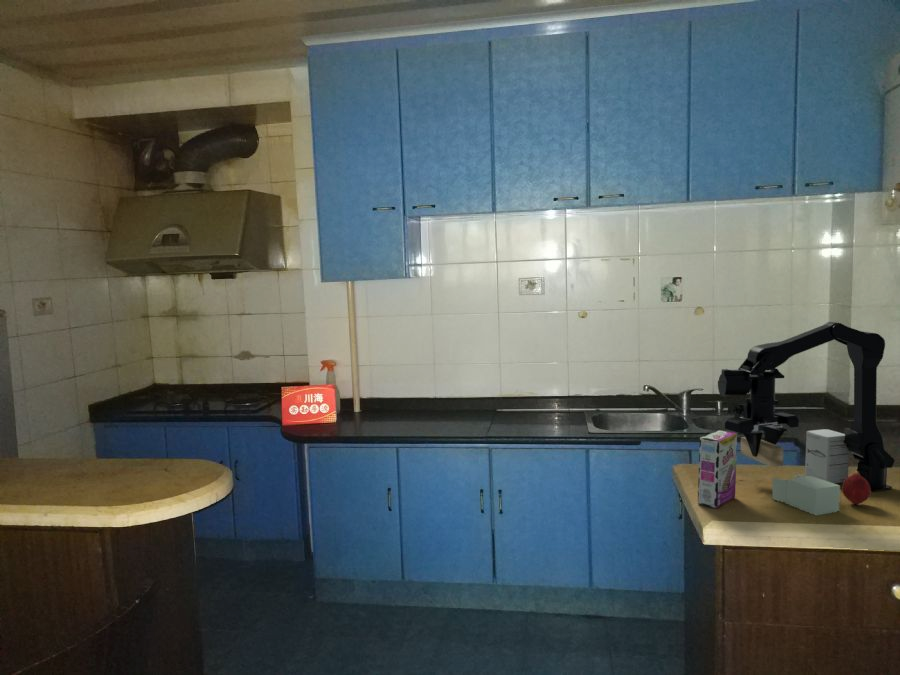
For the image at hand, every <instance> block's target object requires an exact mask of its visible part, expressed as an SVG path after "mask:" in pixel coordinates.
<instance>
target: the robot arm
mask: <svg viewBox="0 0 900 675" xmlns="http://www.w3.org/2000/svg"><path fill="white" fill-rule="evenodd" d="M831 341H836V342H838V343H840V344H843V345H844V346H846V349H847V354H848V357H849V360H850V362H851V363H852V365H853V423H852V425H851V426H850V427H844V429H843V432H844V434H845V440H844V443H845V444H846V446H847V449H848V450H849V453H851V455H852V458H853V459H855V460H857V461H858V462H857V469H856V471H858V472H859V474H860V476H862V477H863V478H865V479H866V480H867V482H868V483H869V485H870V488H871V492H879V491H886V490H892V489H893V486H892V485H888V484H887V480H888V479H887V477H888V469H889V468H890V469H891V468H893V466H894V464H895V462H896V460H895V458H894V457H893V456H891V455H890V454H889V453H888V451H886V450H885V445H884V439H883V438H884V437H883V435H882V433H881V430H880V429H879V427H878V425H877V391H878V390H877V388H878V387H877V386H878V385H877V384H878V382H877V381H878V380H877V378H878V377H877V375H878V373H877V370H878V367H879V365H880V363H881V361H882V360H883V358H884V353H885V349H886V340H885V339H884V337H883V336H882V335H881V334H878V333H877V332H869V331H862V330H859V329H855V328H852V327H850V326H847V325H846V324H843V323H841V322H835V321H828V322H826V323H824V324H822V325H819V326H817V327H815V328H813V329H810V330H808V331H804V332H802V333H799V334H797V335H794V336H792V337H789V338H786V339H785V340H782V341H777V342H767V343H764V344H758V345H754V346H752V347H751V348H750V349H749V351H748V353H747V357H746V358H745V360H744V361H743V362H742V363H741V365H740V366H739V367H738V369H728V368H724V369H723V368H722V369H721V373H720V375H719V377H718V380H717V389H718V390H717V391H718V393H719V395H720V396H721V397H744V396H747V394H749V397H746V398H745V403H744V404H739V403H738V401H733V402H729V403H727V413H728V415H729V416H733V417H727V418H726V419H725V421H724V430H726V431H727V430H728V431H730V432H733V433H737V434H738V433H739V434H743V435H744V436H743V437H746V440H747V442H748V445H749V447H750V450H751V453H752V455H753V456H754V457H757V454H758V451H759V447H760V442H761V440H762V437H763V433H764V441H767V442H769V443H772V444H775V445H777V443H778V442H779V440H780V438H781V437H782V436H783V435H784V433H785V432H787V430H788V429H787V428H784V426H783V424H785V425H787V427H788V428H791V429H793V428H798V427H799V421H800V420H799V418H798V417H797V415H795V414H791V413H787V412H775V411H776V410H775V406H777V405H779V404H780V403H779V402H780V401H779V399H776V379H785V375H784V374H782V372H780V370H779V369H778V367H779V366H781V365H783V364H785V363H786V362H787V361H788V360H789V359H790V358H792V357H794V356H795V355H798V354H801V353H803V352H806V351H808V350H811V349H813V348H816V347H819V346H821V345H824V344H826V343H829V342H831ZM759 427H761V429H762V430H763V432H762V431H759Z"/></svg>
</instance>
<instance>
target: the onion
mask: <svg viewBox="0 0 900 675" xmlns="http://www.w3.org/2000/svg"><path fill="white" fill-rule="evenodd" d="M841 492H842V494H843V496H844V497H845V498H846V499H847V501H848V502H850V503H851V504H853V505H855V504H856V505H859V504H861V503H864V502H866V501H867V500H868V499H869V498H870V497H871V494H872V491H871V488H870V485H869V483H868V482H867V480H866V479H865V478H863V477H862V476H860V474H859V472H858V471H857V470H855V471H854V473H853V474H852V475H850V476H848V478H846V479H845V480H844V482H842V486H841Z"/></svg>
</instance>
